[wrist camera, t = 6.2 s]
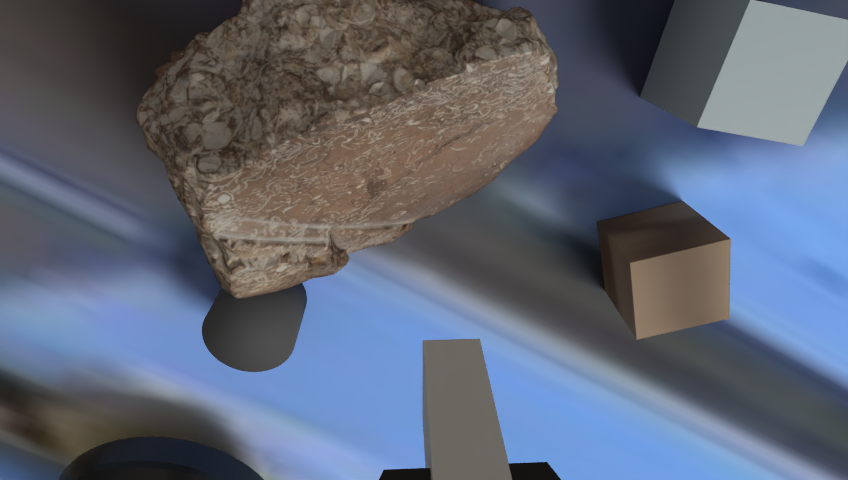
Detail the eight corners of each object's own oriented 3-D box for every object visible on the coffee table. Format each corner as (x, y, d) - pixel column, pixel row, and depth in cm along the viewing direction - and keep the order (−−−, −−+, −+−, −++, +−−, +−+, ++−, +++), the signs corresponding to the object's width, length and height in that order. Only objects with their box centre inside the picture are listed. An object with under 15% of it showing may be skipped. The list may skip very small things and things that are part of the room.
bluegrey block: (639, 97, 27) (696, 126, 22) (676, -6, 25) (750, -1, 20) (726, 113, 28) (802, 146, 23) (770, 13, 26) (866, 24, 20)
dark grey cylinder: (231, 330, 33) (211, 372, 30) (217, 261, 31) (193, 299, 27) (310, 328, 33) (299, 370, 30) (302, 260, 31) (289, 297, 27)
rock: (258, 327, 25) (145, 261, 15) (178, 168, 28) (46, 34, 19) (559, 150, 28) (618, 3, 18) (454, 24, 31) (459, -155, 22)
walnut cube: (604, 290, 33) (636, 339, 28) (596, 221, 31) (630, 263, 26) (684, 271, 32) (729, 318, 28) (681, 200, 30) (730, 238, 26)
